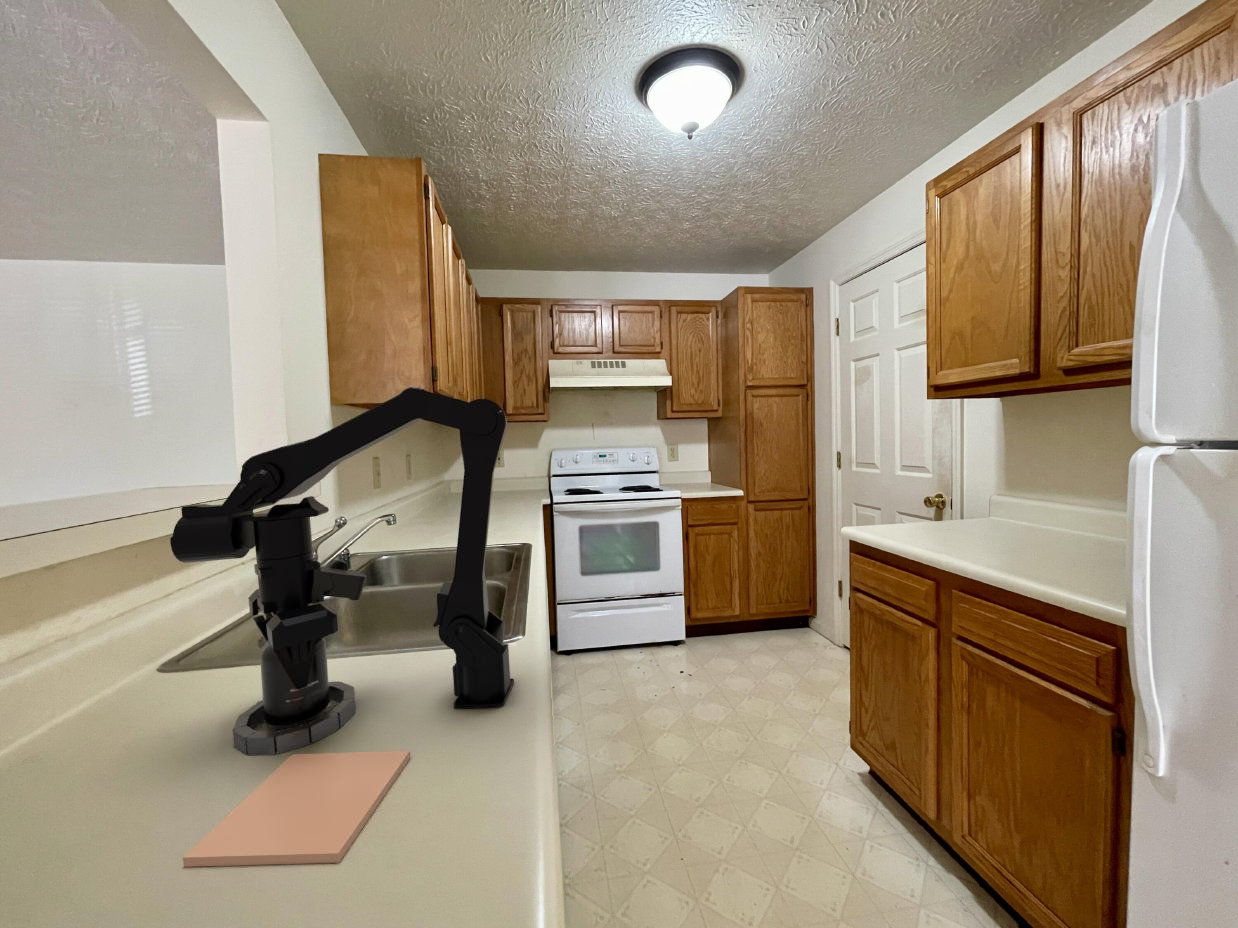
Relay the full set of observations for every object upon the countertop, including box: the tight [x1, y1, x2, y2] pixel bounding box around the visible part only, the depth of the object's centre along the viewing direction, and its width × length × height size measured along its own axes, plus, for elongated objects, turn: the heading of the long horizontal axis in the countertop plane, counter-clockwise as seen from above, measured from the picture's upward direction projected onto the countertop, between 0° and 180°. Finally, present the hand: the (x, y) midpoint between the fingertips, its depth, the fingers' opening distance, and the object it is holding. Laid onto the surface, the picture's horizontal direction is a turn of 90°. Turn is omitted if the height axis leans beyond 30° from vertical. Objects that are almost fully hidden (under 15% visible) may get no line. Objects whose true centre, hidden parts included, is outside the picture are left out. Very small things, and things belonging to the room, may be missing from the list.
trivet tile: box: [182, 750, 411, 868], centre depth 46 cm, size 13×13×1 cm
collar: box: [232, 681, 356, 756], centre depth 60 cm, size 12×12×2 cm
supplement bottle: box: [259, 637, 330, 729], centre depth 60 cm, size 7×7×12 cm
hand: (295, 678), depth 60 cm, fingers closed on supplement bottle, 7 cm apart
